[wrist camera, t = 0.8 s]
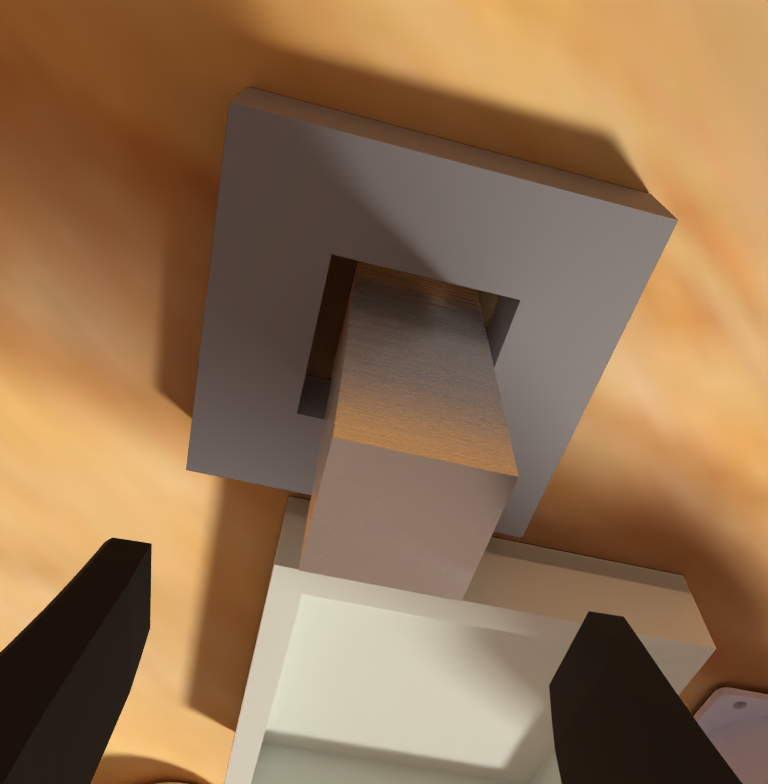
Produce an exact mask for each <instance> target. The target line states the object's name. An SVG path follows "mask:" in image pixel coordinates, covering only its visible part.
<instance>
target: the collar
mask: <svg viewBox="0 0 768 784" xmlns="http://www.w3.org/2000/svg"><path fill="white" fill-rule="evenodd" d="M677 221H678V219H676V218H675V217H674V216H673V215H672V214H671V213H670V212H669V211H668V210H667V209H666V208H665V207H664V206H663V205H662V204H661V203H660V202H658V201H657V200H656V199H655V198H654V197H653V196H652V195H651V194H649V193H645V192H641V191H638V190H634V189H630V188H626V187H623V186H619V185H615V184H611V183H608V182H604V181H600V180H596V179H593V178H589V177H585V176H581V175H578V174H574V173H570V172H566V171H563V170H559V169H555V168H551V167H548V166H544V165H540V164H536V163H533V162H529V161H525V160H521V159H518V158H514V157H510V156H506V155H503V154H499V153H495V152H492V151H488V150H484V149H480V148H477V147H473V146H469V145H465V144H462V143H458V142H454V141H450V140H447V139H443V138H439V137H435V136H432V135H428V134H424V133H420V132H417V131H413V130H409V129H405V128H402V127H398V126H394V125H390V124H387V123H383V122H379V121H375V120H372V119H368V118H364V117H360V116H357V115H353V114H349V113H345V112H342V111H338V110H334V109H330V108H327V107H323V106H319V105H315V104H312V103H308V102H304V101H300V100H297V99H293V98H289V97H285V96H282V95H278V94H274V93H270V92H267V91H263V90H259V89H255V88H252V87H247V88H245V89H244V90H243V91H242V92H241V93H239V94H238V95H237V96H236V97H234V98H233V99H232V100H231V101H230V102H229V108H228V117H227V125H226V134H225V142H224V151H223V159H222V168H221V177H220V185H219V194H218V202H217V211H216V219H215V228H214V236H213V245H212V253H211V262H210V270H209V279H208V287H207V296H206V304H205V313H204V322H203V330H202V339H201V347H200V356H199V364H198V373H197V381H196V390H195V398H194V407H193V415H192V424H191V432H190V441H189V449H188V458H187V467H186V470H189V471H194V472H199V473H204V474H209V475H214V476H219V477H224V478H229V479H233V480H238V481H243V482H248V483H253V484H258V485H263V486H268V487H273V488H278V489H283V490H288V491H293V492H298V493H303V494H308V495H311V494H312V488H313V482H314V476H315V471H316V465H317V459H318V453H319V447H320V441H321V435H322V429H323V423H324V418H325V412H326V406H327V400H328V394H329V388H330V382H331V381H330V380H326V379H321V378H317V377H312V376H308V375H306V372H307V367H308V363H309V358H310V354H311V349H312V344H313V340H314V335H315V331H316V326H317V321H318V317H319V312H320V308H321V303H322V299H323V294H324V289H325V285H326V280H327V276H328V271H329V266H330V262H331V257H332V254H333V255H337V256H341V257H345V258H349V259H353V260H357V261H362V262H366V263H370V264H374V265H378V266H382V267H386V268H390V269H394V270H399V271H403V272H407V273H411V274H415V275H419V276H423V277H427V278H432V279H436V280H440V281H444V282H448V283H452V284H456V285H460V286H464V287H469V288H473V289H477V290H481V291H485V292H489V293H493V294H497V295H499V298H498V300H497V303H496V306H495V308H494V311H493V314H492V317H491V319H490V322H489V325H488V327H487V330H486V334H487V338H488V343H489V347H490V352H491V356H492V360H493V365H494V369H495V374H496V378H497V383H498V387H499V392H500V396H501V401H502V405H503V409H504V414H505V418H506V423H507V427H508V432H509V436H510V441H511V445H512V450H513V454H514V458H515V463H516V467H517V472H518V476H519V477H518V479H517V482H516V484H515V486H514V488H513V490H512V492H511V495H510V497H509V499H508V501H507V503H506V506H505V508H504V510H503V512H502V514H501V516H500V519H499V521H498V523H497V525H496V527H495V530H494V532H495V533H500V534H505V535H510V536H515V537H520V538H522V536H523V534H524V532H525V530H526V528H527V526H528V524H529V522H530V520H531V518H532V516H533V514H534V512H535V510H536V508H537V506H538V504H539V502H540V500H541V498H542V496H543V494H544V492H545V490H546V488H547V486H548V484H549V481H550V479H551V477H552V475H553V473H554V471H555V469H556V467H557V465H558V463H559V461H560V459H561V457H562V455H563V453H564V451H565V449H566V447H567V445H568V443H569V441H570V439H571V437H572V435H573V433H574V431H575V429H576V427H577V425H578V423H579V421H580V419H581V416H582V414H583V412H584V410H585V408H586V406H587V404H588V402H589V400H590V398H591V396H592V394H593V392H594V390H595V388H596V386H597V384H598V382H599V380H600V378H601V376H602V374H603V372H604V370H605V368H606V366H607V364H608V362H609V360H610V358H611V356H612V354H613V351H614V349H615V347H616V345H617V343H618V341H619V339H620V337H621V335H622V333H623V331H624V329H625V327H626V325H627V323H628V321H629V319H630V317H631V315H632V313H633V311H634V309H635V307H636V305H637V303H638V301H639V299H640V297H641V295H642V293H643V291H644V289H645V286H646V284H647V282H648V280H649V278H650V276H651V274H652V272H653V270H654V268H655V266H656V264H657V262H658V260H659V258H660V256H661V254H662V252H663V250H664V248H665V246H666V244H667V242H668V240H669V238H670V236H671V234H672V232H673V230H674V228H675V226H676V224H677Z"/></svg>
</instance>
